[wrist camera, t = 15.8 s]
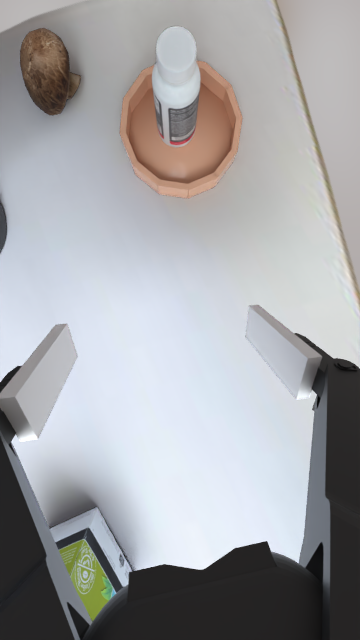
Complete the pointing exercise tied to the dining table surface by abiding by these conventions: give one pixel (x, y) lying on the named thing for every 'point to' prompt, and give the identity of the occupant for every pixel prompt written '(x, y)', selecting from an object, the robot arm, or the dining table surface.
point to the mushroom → (47, 71)
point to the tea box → (91, 559)
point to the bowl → (199, 154)
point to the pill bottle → (176, 86)
